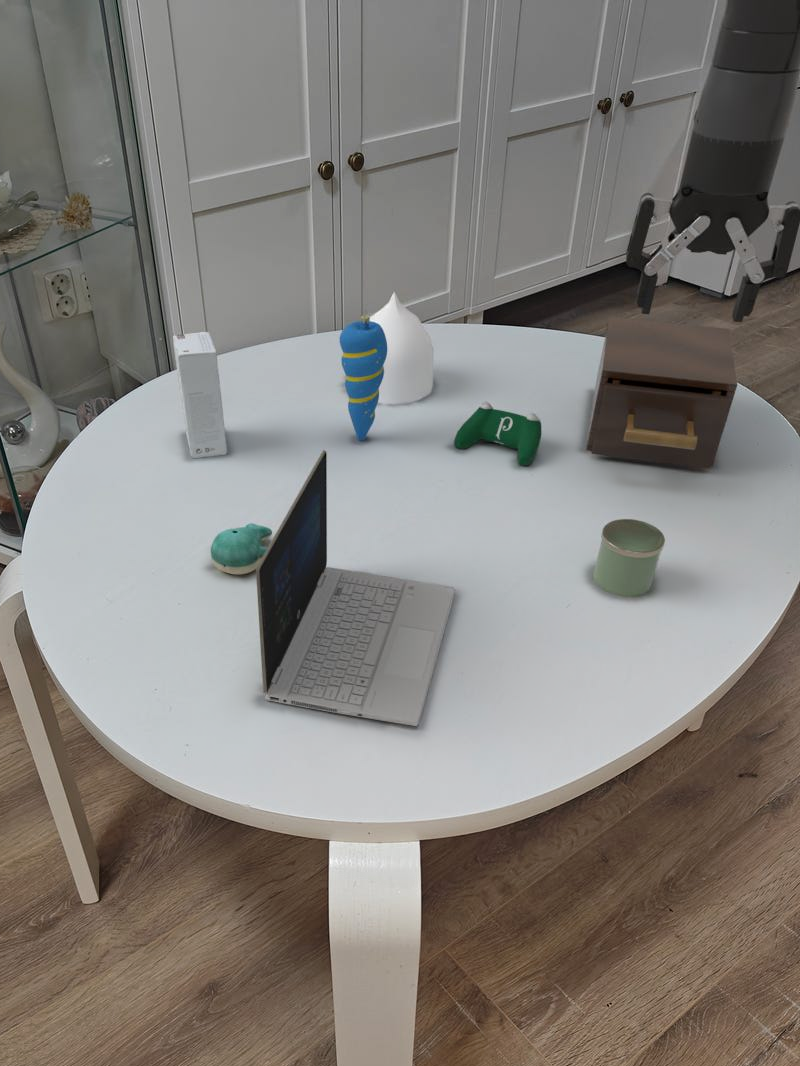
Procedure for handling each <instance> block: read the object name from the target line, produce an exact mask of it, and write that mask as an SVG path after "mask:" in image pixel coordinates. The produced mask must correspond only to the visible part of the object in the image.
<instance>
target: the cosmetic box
mask: <svg viewBox="0 0 800 1066" xmlns="http://www.w3.org/2000/svg"><path fill="white" fill-rule="evenodd" d="M172 343H173V349H174V359H175V365H176V370H177V371H176V373H177V379H178V385H179V393H180V398H181V405H182V413H183V420H184V428H185V433H186V439H187V443H188V444H187V445H188V447H189V452H190V456H191V458H193V459H199V458H208V457H209V458H210V457H218V456H227V453H228V445H227V437H226V428H225V419H224V410H223V400H222V392H221V383H220V374H219V366H218V353H217V350H216V347H215V344H214V342H213V339H212V336H211V334H210V332H209V331H200V332H193V333H184V334H177V335H173V336H172Z"/></svg>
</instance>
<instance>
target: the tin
mask: <svg viewBox="0 0 800 1066" xmlns="http://www.w3.org/2000/svg"><path fill="white" fill-rule="evenodd" d="M600 538H601V540H600V544H599V549H598V553H597V557H596V562H595V565H594V570H593V575H592V577H593V581H594V583H595V584H596V586H598V587H599V588H600V589H602V590H603V591H605V592H607V593H609V594H611V595H615V596H618V597H628V598H629V597H631V598H632V597H637V596H643V595H644V594H646V593H648V592H649V591H650V590H651V587H652V584H653V581H654V577H655V574H656V571H657V566H658V564H659V560H660V556H661V553H662V551H663V550H664V547H665V542H666V539H665V536H664V534H663V532H662V531H661V530H660V529H659V528H658V527H656V526H655V525H653V524H651V523H649V522H646V521H642V520H638V519H633V518H621V519H614V520H612V521H609V522H608V523H606V524H605V525H604V526H603V528H602V531H601V535H600Z"/></svg>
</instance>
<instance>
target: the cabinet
mask: <svg viewBox="0 0 800 1066" xmlns="http://www.w3.org/2000/svg"><path fill="white" fill-rule="evenodd" d="M606 325H607V326H606V330H605V335H604V339H603V344H602V345H603V346H602V351H601V355H600V361H599V365H598V369H597V370H598V371H597V374H596V380H595V386H594V390H593V396H592V404H591V412H590V419H589V425H588V432H587V441H586V446H585V447H586V448H585V451H589V452H592V447H593V443H594V438H595V433H596V428H597V423H598V419H599V414H600V409H601V404H602V399H603V395H604V390H605V385H606V383H608V380H609V378H615V379H624V380H634V381H643V382H652V383H661V384H670V385H679V386H689V387H698V388H707V389H716V390H721V394H720V396H729V398H730V403H729V406H728V410H727V413H726V416H725V419H724V423H723V426H722V429H721V432H720V436H719V439H718V442H717V445H716V449H715V452H714V455H713V459H712V462H711V465H710V467H713V466H714V463H715V459H716V456H717V454H718V453H717V452H718V449H719V446H720V444H721V443H720V442H721V439H722V438H723V433H724V430H725V427H726V423H727V420H728V417H729V413H730V411H731V407H732V403H733V401H734V398H735V394H736V391H737V388H738V380H737V373H736V365H735V360H734V359H735V356H734V350H733V343H732V335H731V329H730V328H725V327H716V326H715V327H714V326H704V325H695V324H694V325H693V324H684V323H683V324H682V323H672V322H660V321H651V320H641V319H640V320H639V319H630V318H620V317H608V320H607V324H606Z"/></svg>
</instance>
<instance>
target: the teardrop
mask: <svg viewBox="0 0 800 1066" xmlns="http://www.w3.org/2000/svg"><path fill="white" fill-rule="evenodd" d="M369 317H370V321H372V322H375V323H378V324H379V325H380V326H381V327H382V329H383V331H384V334H385V337H386V341H387V356H386V360H385V362H384V365H383V367H384V377H383V380H382V382H381V385H380V387H379V399H378V403H377V404H385V405H402V404H403V405H404V404H410V403H414V402H418V401H420V400H421V399H424V398H425V397H427V396H428V395H430V394H431V393H432V390H433V388H434V352H435V351H434V346H433V343H432V338H431V336H430V335H429V332H428V331H427V330H426V328H425V326H424V325H423V323H422V322H421V320H420V319H419V317H418V316H417V315H416V314H414V313H413V312H412V311H409V310H408V308H407V307H405V306H404V305H403V304H402V303H401V302H400V300H399V298H398V296H397V294H396V292H395V291H393V293H392V295H391V297H390V299H389V301H388V302H387V303H386V304H385V305H384V306H383V307H382V308H381V309H379V310H378V311H376V312H375V313H374V314H372V315H371V316H369Z"/></svg>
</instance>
